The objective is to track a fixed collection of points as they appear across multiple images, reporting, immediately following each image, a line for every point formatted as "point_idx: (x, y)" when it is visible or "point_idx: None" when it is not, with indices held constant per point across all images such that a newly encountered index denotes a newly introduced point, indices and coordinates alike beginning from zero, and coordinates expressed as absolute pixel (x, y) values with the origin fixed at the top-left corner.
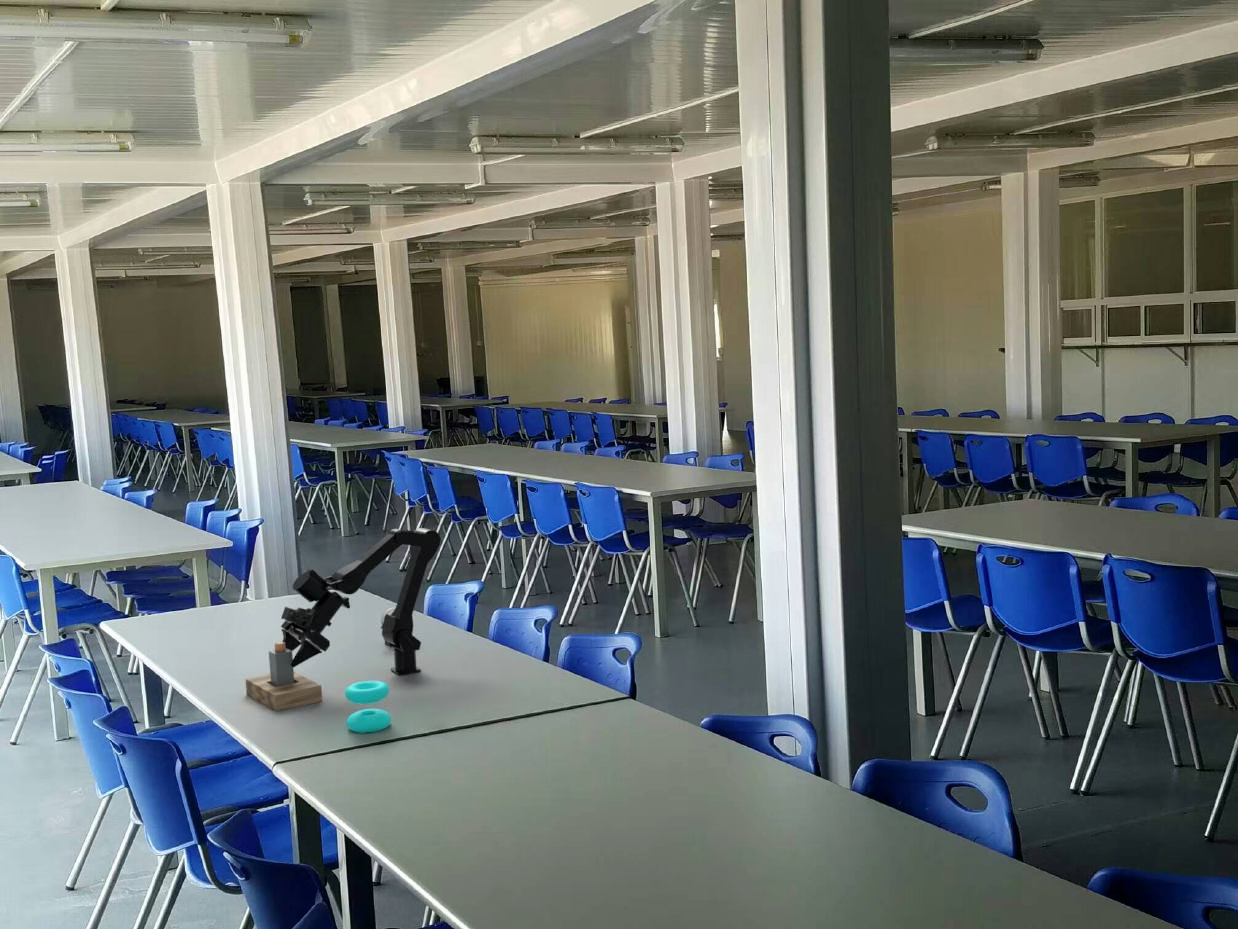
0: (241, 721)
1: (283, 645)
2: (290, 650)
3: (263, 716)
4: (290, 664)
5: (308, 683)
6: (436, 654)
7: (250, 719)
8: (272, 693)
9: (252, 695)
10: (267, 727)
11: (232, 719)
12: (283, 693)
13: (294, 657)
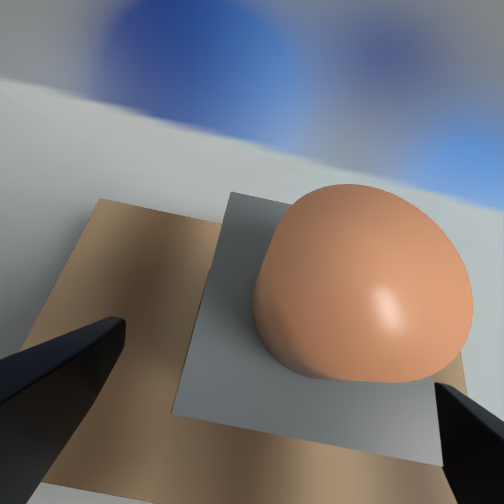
0: (145, 135)
1: (268, 291)
2: (229, 421)
3: (121, 185)
4: (120, 317)
5: (88, 430)
6: None
7: (135, 154)
8: (134, 208)
9: None
10: (18, 136)
11: (186, 134)
12: (83, 232)
13: (60, 353)
